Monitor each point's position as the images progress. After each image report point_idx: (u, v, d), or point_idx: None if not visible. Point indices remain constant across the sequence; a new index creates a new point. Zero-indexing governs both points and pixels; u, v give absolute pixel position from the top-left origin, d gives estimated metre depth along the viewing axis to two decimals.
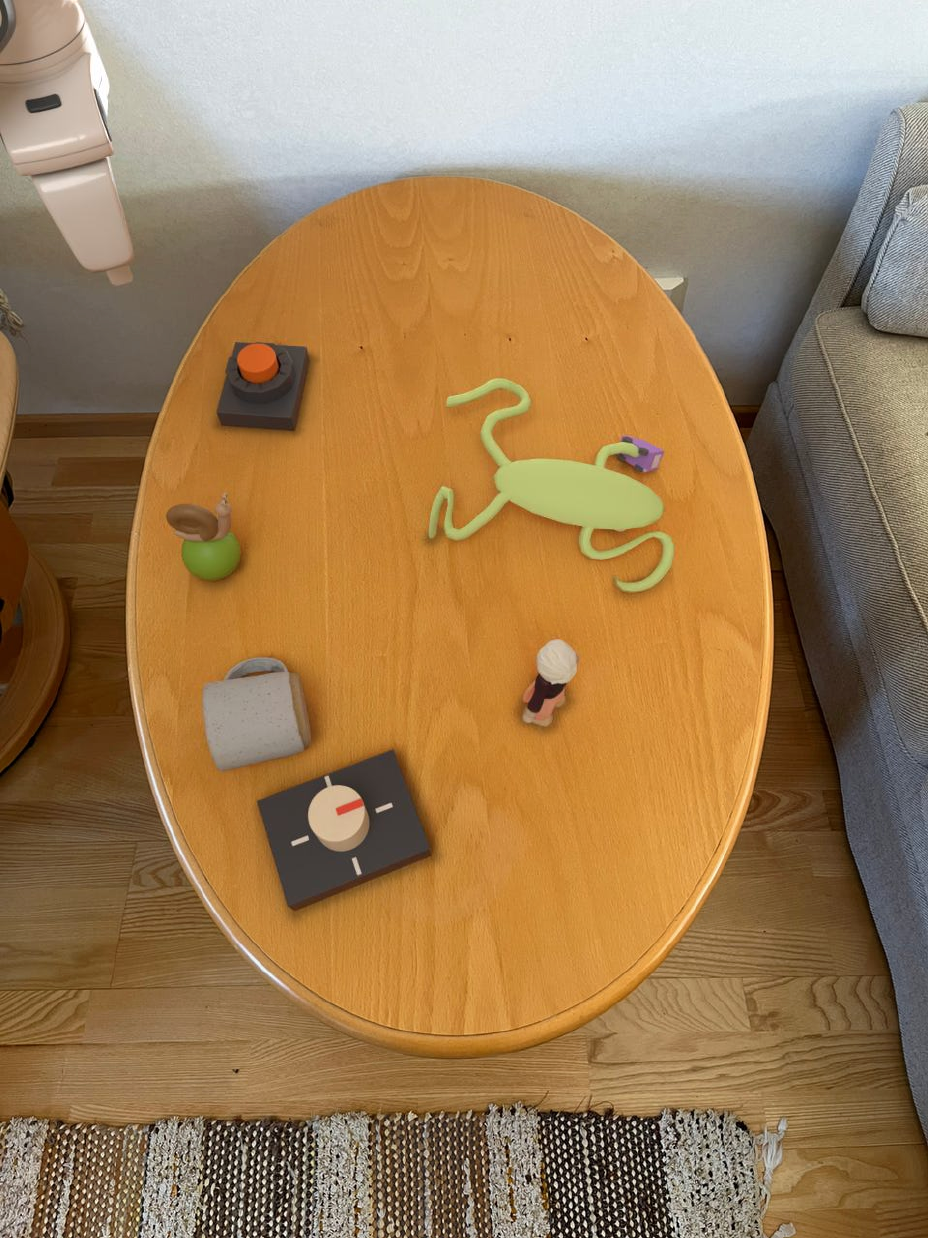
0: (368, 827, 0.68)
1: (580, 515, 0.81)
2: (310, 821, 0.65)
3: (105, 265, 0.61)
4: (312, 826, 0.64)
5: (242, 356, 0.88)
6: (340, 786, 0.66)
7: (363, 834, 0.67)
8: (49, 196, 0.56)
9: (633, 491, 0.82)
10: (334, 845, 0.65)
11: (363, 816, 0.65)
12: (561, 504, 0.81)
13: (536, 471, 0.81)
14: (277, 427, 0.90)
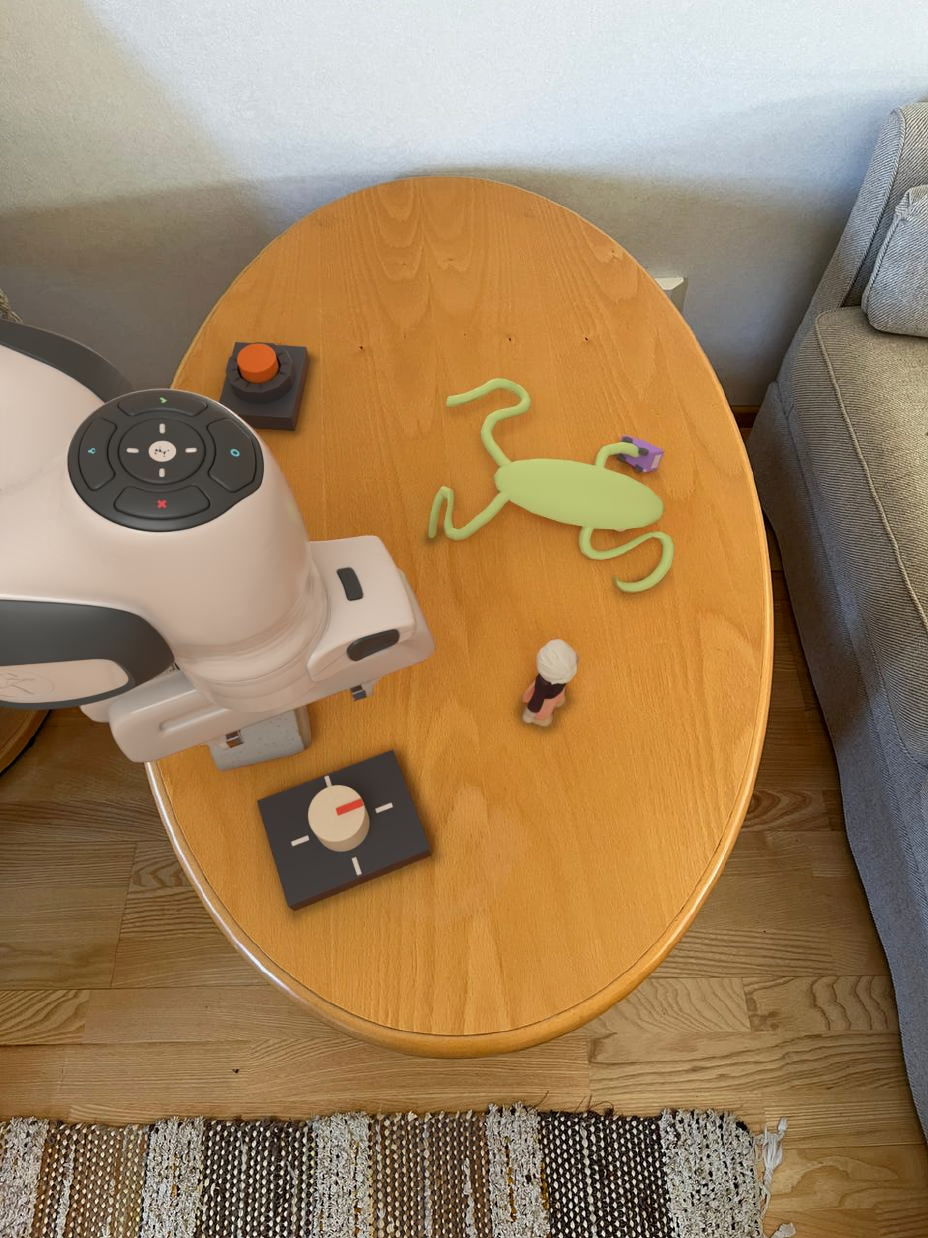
0: (368, 827, 0.68)
1: (580, 515, 0.81)
2: (310, 821, 0.65)
3: None
4: (312, 826, 0.64)
5: (242, 356, 0.88)
6: (340, 786, 0.66)
7: (363, 834, 0.67)
8: (421, 622, 0.50)
9: (633, 491, 0.82)
10: (334, 845, 0.65)
11: (363, 816, 0.65)
12: (561, 504, 0.81)
13: (536, 470, 0.81)
14: (277, 427, 0.90)
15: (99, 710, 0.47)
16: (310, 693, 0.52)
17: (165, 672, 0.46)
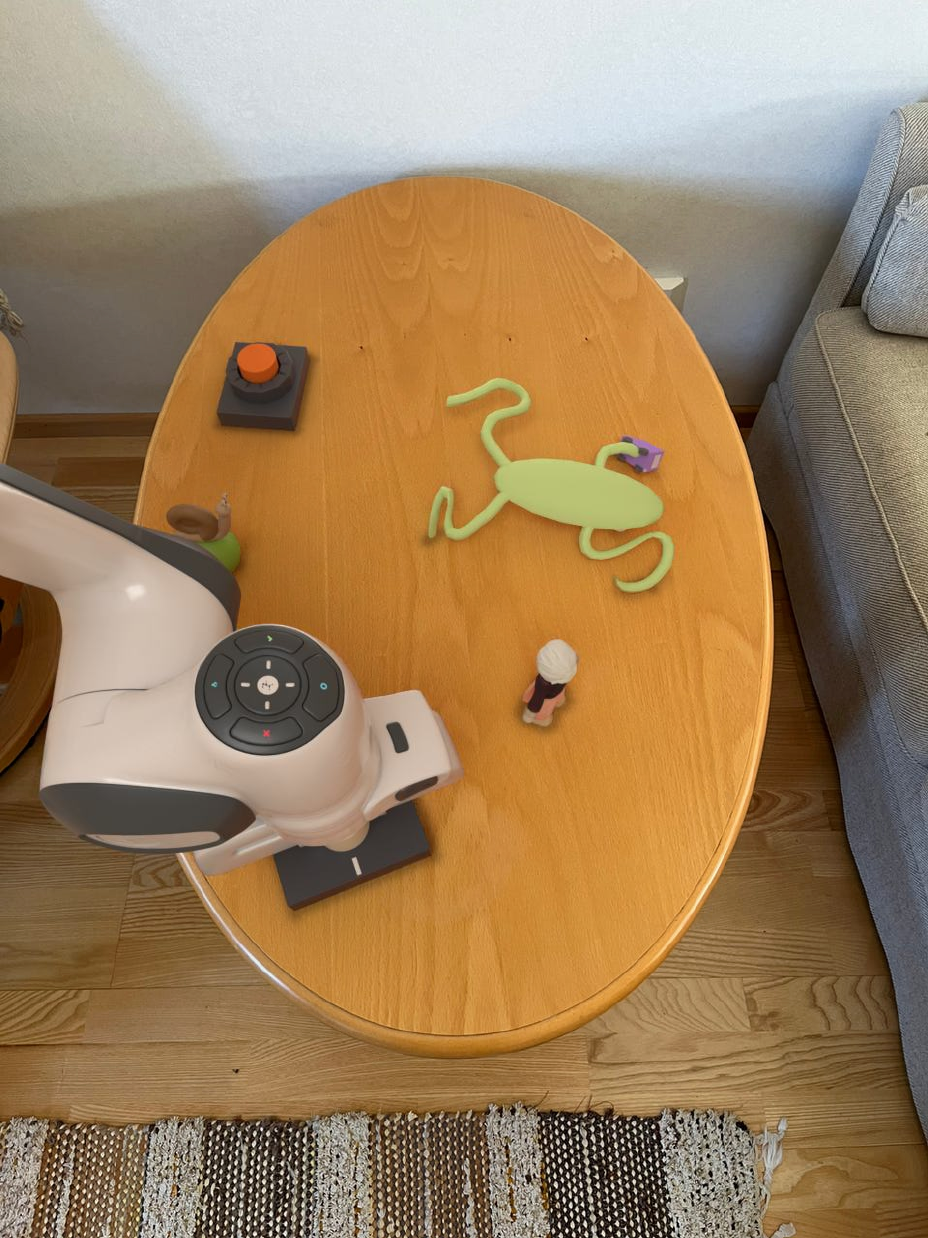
0: (368, 827, 0.68)
1: (580, 515, 0.81)
2: None
3: None
4: None
5: (242, 356, 0.88)
6: None
7: (363, 834, 0.67)
8: (455, 761, 0.59)
9: (633, 491, 0.82)
10: (334, 845, 0.65)
11: None
12: (561, 504, 0.81)
13: (536, 470, 0.81)
14: (277, 427, 0.90)
15: None
16: None
17: None
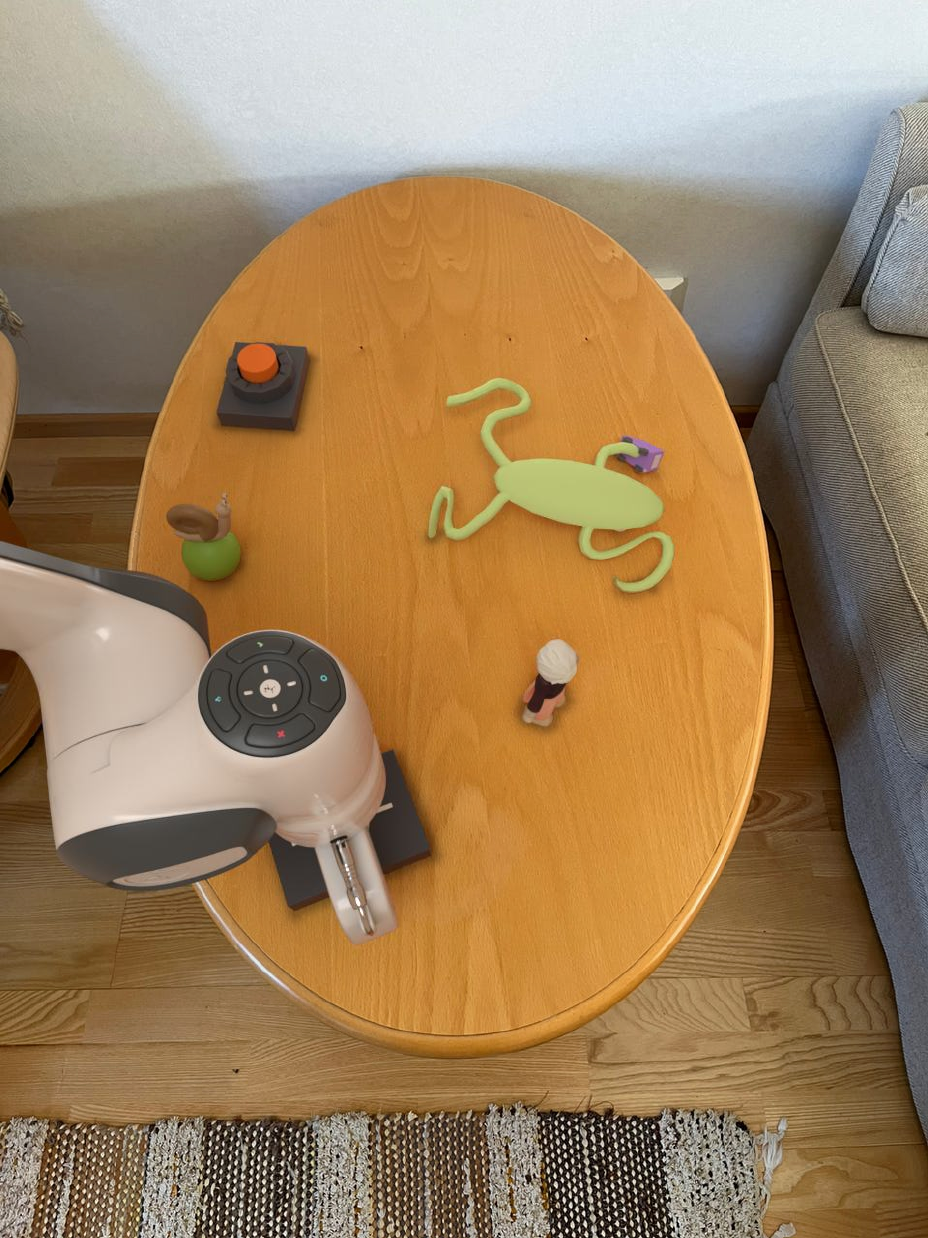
0: None
1: (580, 515, 0.81)
2: None
3: None
4: None
5: (242, 356, 0.88)
6: None
7: None
8: None
9: (633, 492, 0.82)
10: None
11: None
12: (561, 504, 0.81)
13: (536, 470, 0.81)
14: (277, 427, 0.90)
15: (372, 918, 0.54)
16: None
17: (350, 848, 0.54)
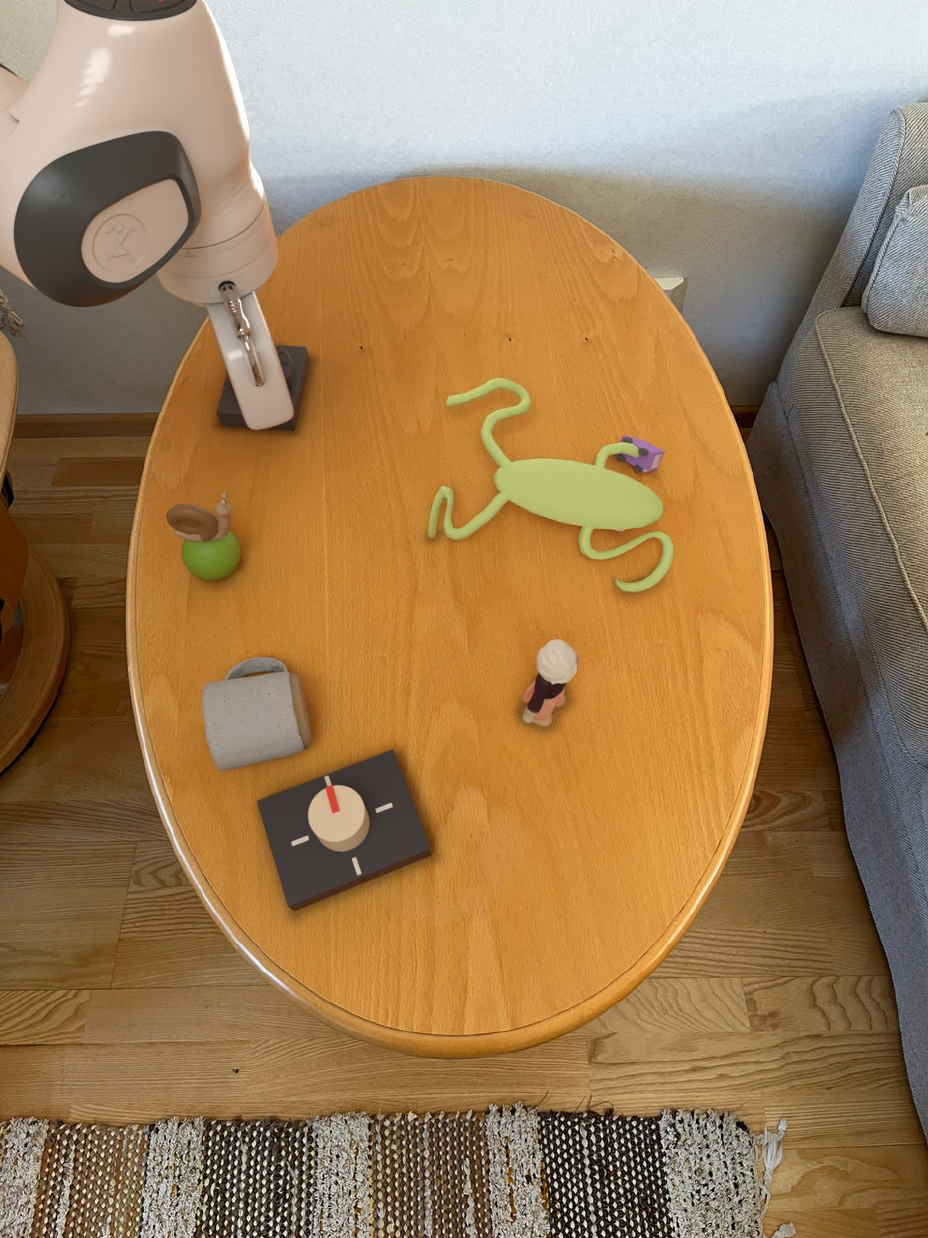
0: None
1: (580, 515, 0.81)
2: (342, 838, 0.64)
3: None
4: (347, 836, 0.64)
5: None
6: (309, 809, 0.65)
7: None
8: None
9: (633, 492, 0.82)
10: (366, 821, 0.66)
11: (342, 786, 0.66)
12: (561, 504, 0.81)
13: (536, 470, 0.81)
14: (277, 427, 0.90)
15: None
16: None
17: (237, 293, 0.56)
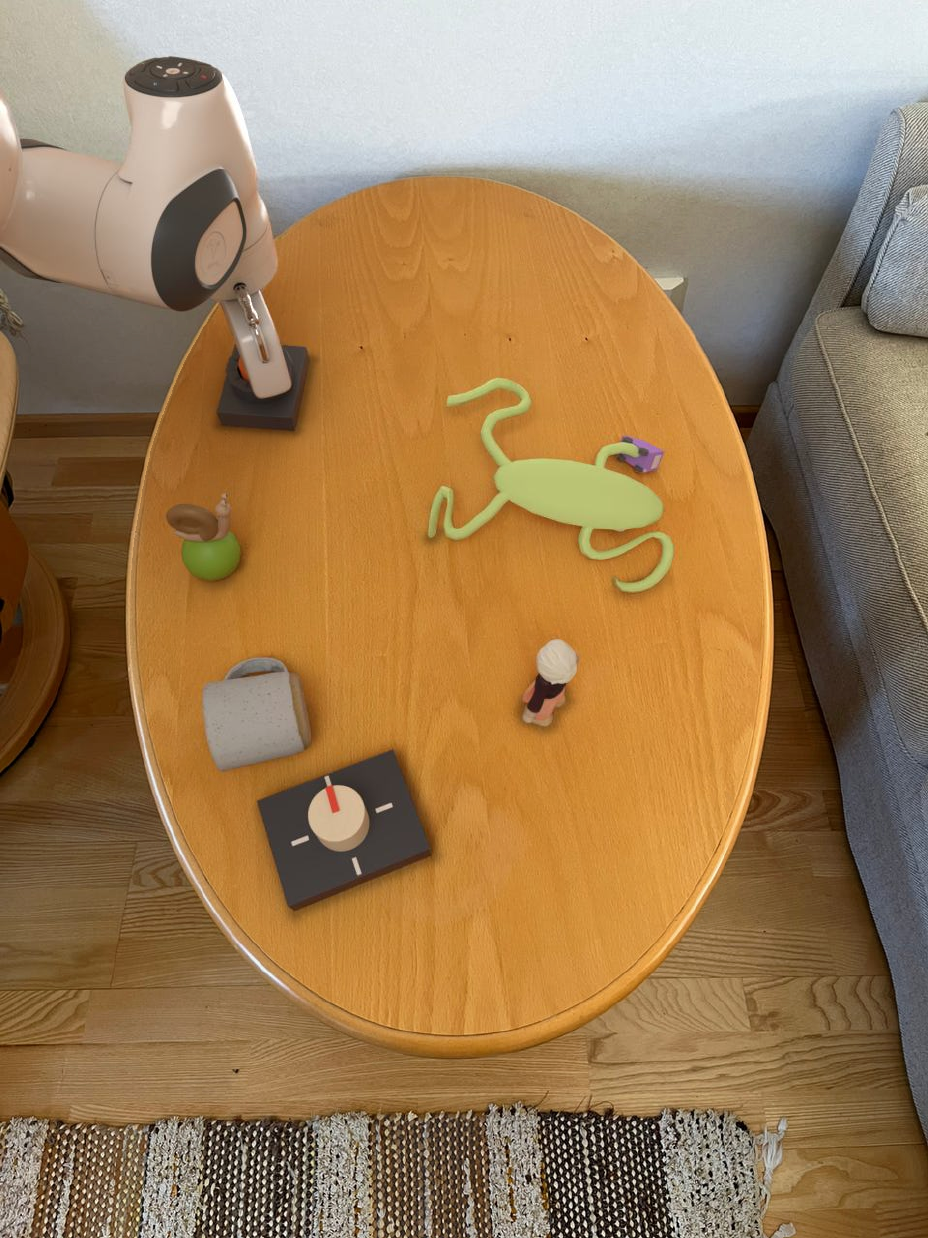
0: None
1: (580, 515, 0.81)
2: (342, 838, 0.64)
3: None
4: (347, 836, 0.64)
5: None
6: (309, 809, 0.65)
7: None
8: None
9: (633, 492, 0.82)
10: (366, 821, 0.66)
11: (342, 786, 0.66)
12: (561, 504, 0.81)
13: (536, 470, 0.81)
14: (277, 427, 0.90)
15: (264, 342, 0.74)
16: None
17: (248, 291, 0.74)
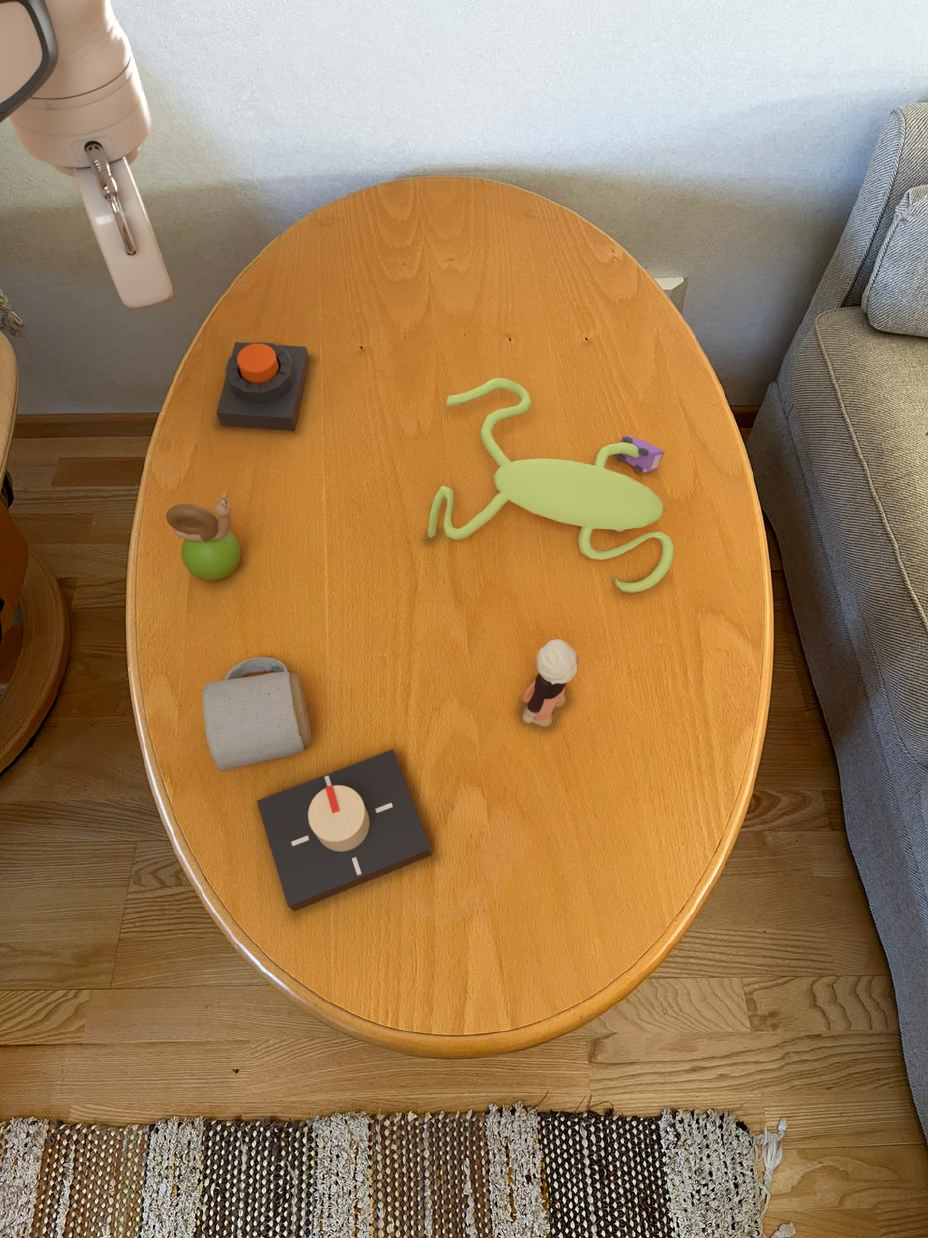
0: None
1: (580, 515, 0.81)
2: (342, 838, 0.64)
3: None
4: (347, 836, 0.64)
5: (242, 356, 0.88)
6: (309, 809, 0.65)
7: None
8: None
9: (632, 492, 0.82)
10: (366, 821, 0.66)
11: (342, 786, 0.66)
12: (561, 504, 0.81)
13: (536, 470, 0.81)
14: (277, 427, 0.90)
15: (127, 224, 0.54)
16: None
17: (105, 154, 0.54)
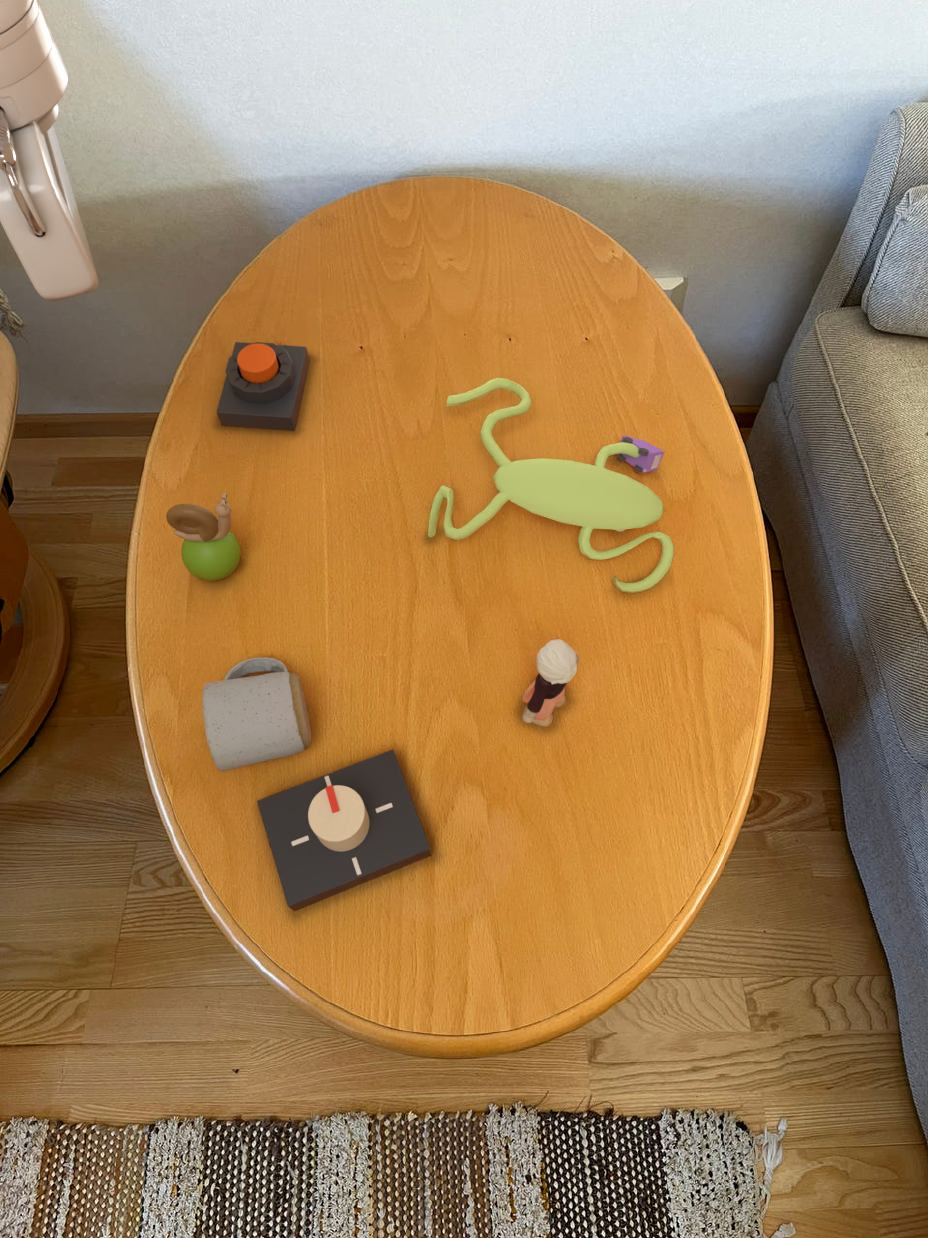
0: None
1: (580, 515, 0.81)
2: (342, 838, 0.64)
3: None
4: (347, 836, 0.64)
5: (242, 356, 0.88)
6: (309, 809, 0.65)
7: None
8: None
9: (632, 492, 0.82)
10: (366, 821, 0.66)
11: (342, 786, 0.66)
12: (561, 504, 0.81)
13: (536, 470, 0.81)
14: (277, 427, 0.90)
15: (31, 199, 0.46)
16: (58, 154, 0.55)
17: (5, 118, 0.46)
